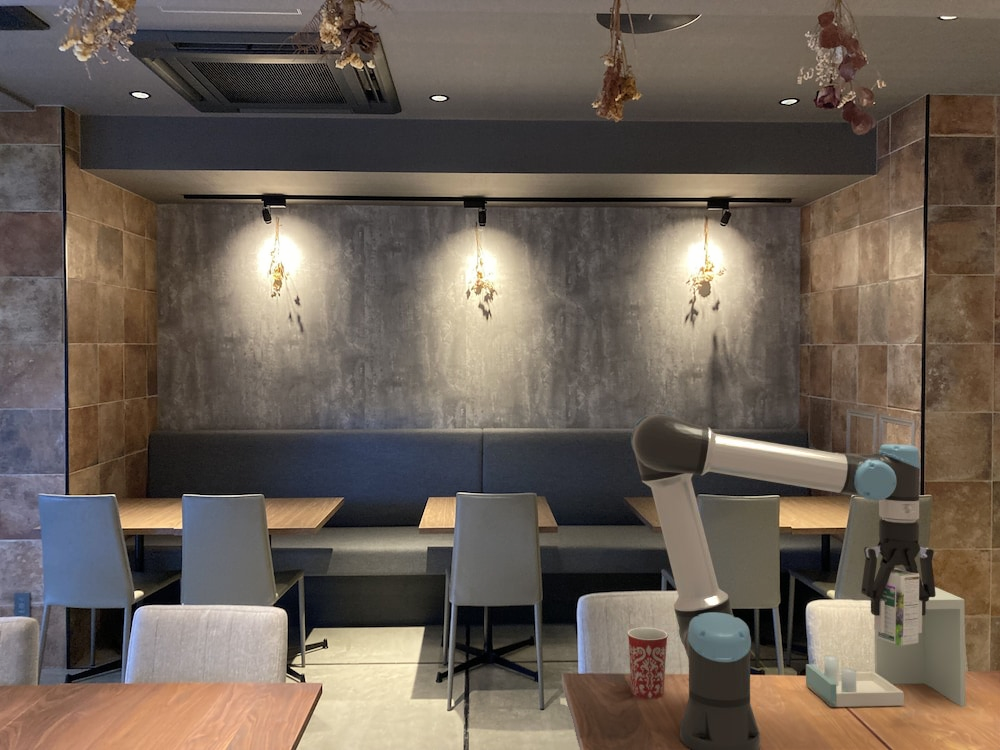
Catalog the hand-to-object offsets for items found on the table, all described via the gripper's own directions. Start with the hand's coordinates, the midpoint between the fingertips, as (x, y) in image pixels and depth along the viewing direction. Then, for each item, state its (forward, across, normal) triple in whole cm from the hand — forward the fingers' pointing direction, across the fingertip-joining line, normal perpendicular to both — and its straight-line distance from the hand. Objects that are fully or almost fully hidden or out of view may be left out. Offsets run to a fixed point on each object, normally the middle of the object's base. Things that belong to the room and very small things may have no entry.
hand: (897, 630), depth 174 cm
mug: (+20, -47, +21) cm, 55 cm away
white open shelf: (+19, +13, +15) cm, 27 cm away
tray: (+19, -2, +14) cm, 24 cm away
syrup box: (+2, 0, 0) cm, 2 cm away
